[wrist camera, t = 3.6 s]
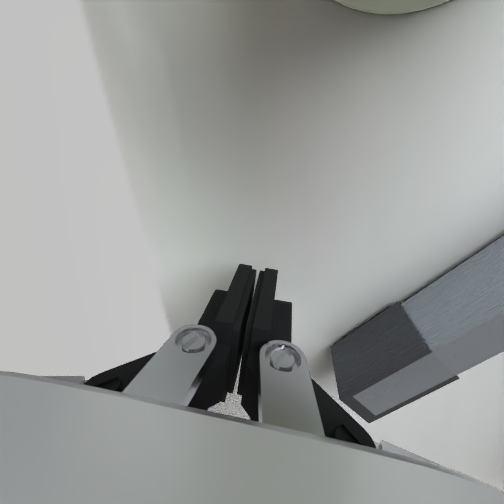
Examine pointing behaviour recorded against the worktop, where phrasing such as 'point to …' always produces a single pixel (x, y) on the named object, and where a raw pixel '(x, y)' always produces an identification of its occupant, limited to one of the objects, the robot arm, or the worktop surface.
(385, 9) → the can
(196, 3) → the worktop surface
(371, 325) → the bar
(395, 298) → the worktop surface
